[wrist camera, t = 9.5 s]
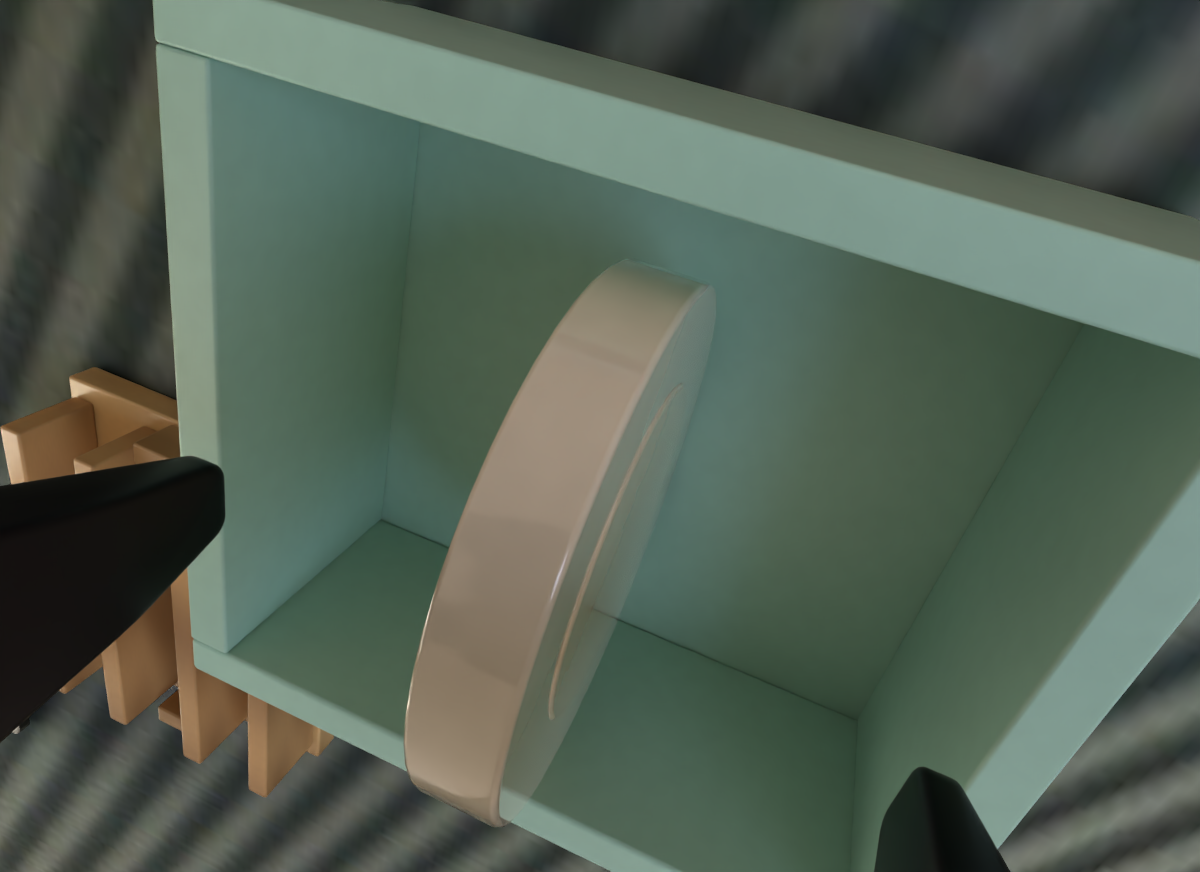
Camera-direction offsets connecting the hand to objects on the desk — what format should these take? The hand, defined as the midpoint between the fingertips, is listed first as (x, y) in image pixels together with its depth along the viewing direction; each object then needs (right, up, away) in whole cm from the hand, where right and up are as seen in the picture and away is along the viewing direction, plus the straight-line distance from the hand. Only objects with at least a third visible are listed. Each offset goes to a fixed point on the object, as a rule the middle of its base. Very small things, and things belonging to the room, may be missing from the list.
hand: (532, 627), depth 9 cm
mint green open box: (+2, +3, +6) cm, 7 cm away
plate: (+2, +3, +6) cm, 6 cm away
